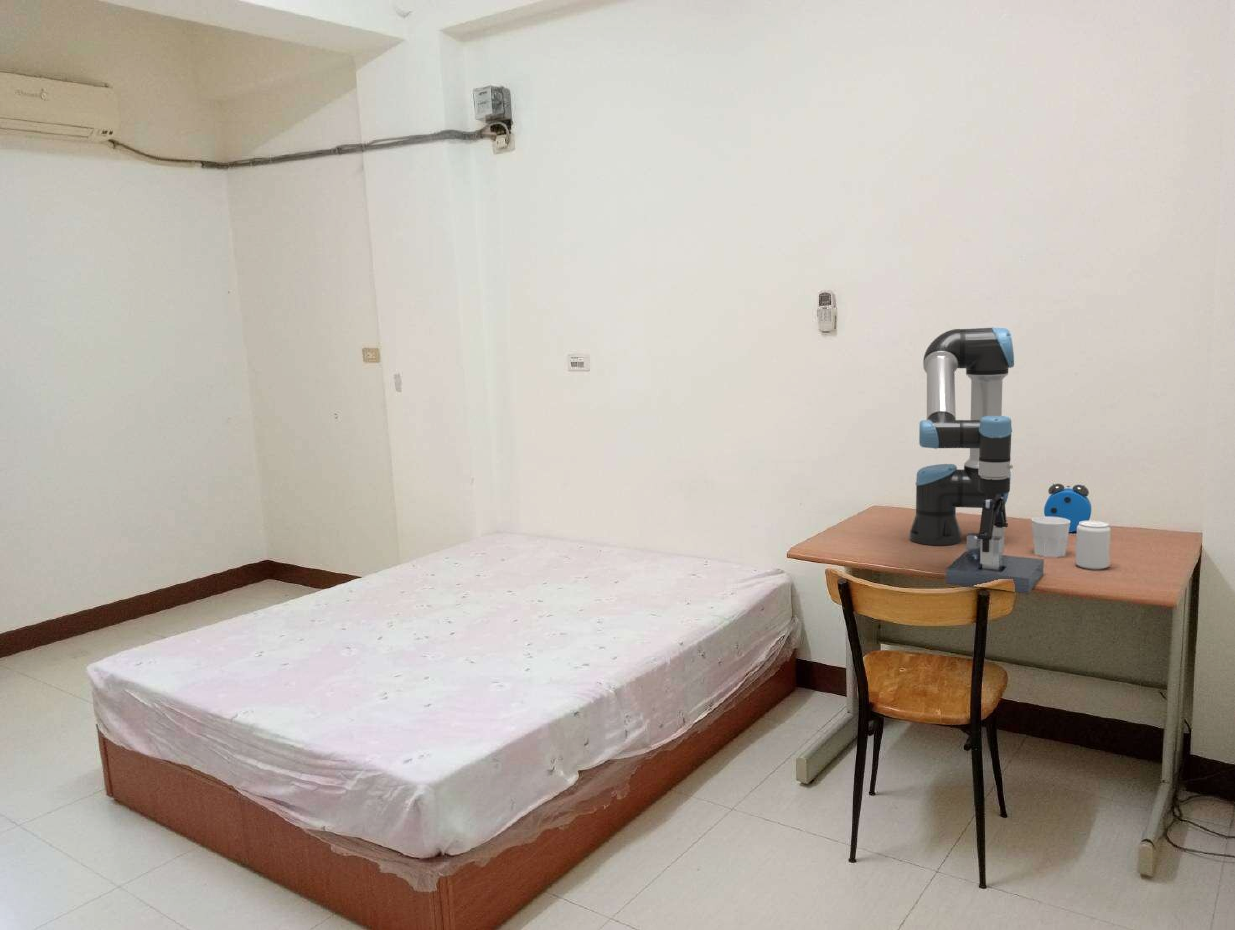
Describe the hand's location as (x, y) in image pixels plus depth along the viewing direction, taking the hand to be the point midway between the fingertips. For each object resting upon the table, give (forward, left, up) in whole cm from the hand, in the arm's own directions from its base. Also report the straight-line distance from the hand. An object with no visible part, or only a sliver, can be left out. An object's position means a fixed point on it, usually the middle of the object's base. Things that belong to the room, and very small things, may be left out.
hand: (992, 557), depth 234 cm
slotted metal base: (0, +4, -7) cm, 8 cm away
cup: (+8, +36, -7) cm, 38 cm away
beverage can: (+20, +27, -7) cm, 34 cm away
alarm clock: (+8, +67, -7) cm, 68 cm away
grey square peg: (0, 0, -7) cm, 7 cm away
